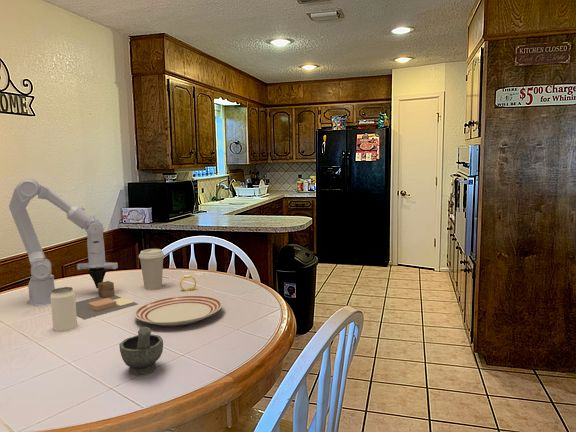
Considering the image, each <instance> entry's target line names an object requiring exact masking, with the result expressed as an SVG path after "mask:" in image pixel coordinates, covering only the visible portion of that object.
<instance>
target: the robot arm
mask: <svg viewBox="0 0 576 432" xmlns="http://www.w3.org/2000/svg"><path fill="white" fill-rule="evenodd" d="M36 196H37V199H39V200H40V199H41V200H46V201H48V202H49V203H51V204H52V205H54V206H56V207H57V208H59V210H61V211H62V212H64V213H65V214H66V218H67V220H69V221H70V222H72V223H73V224H74V225H76V226H77V227H79V228H80V229H82V230H85V232H86V233H87V234H86V235H87V237H86V238H87V240H86V245H87V258H88V262H81V263H78V264H76V269H77V270H89V271H88V272H87V273H88V275H89V276H90V277H91V278H92V281H93V282H94V286H95V289H98V283H101V282H104V278H105V275H106V273H107V271H108V270H109V269H110V270H111V269H112V270H116V269H118V268H119V265H118V262H109V261H106V250H105V241H104V240H105V239H104V232H105V227H104V226H103V224H102V223H101V221H100V220H99V219H97V217H96V216H94V215H93V216H92V215H91V214H90V213H88V212H87V211H85V210H86V209H85V208H84V207H83V206H81V207H80V206H78V205H74V206H72V205H71V204H70V203H69V202H67V201H66V200H65V199H63V198H62V197H61V196H60V195H59V194H57V193H56V192H55V191H53V190H52V189H50V188H49V187H47V186H45V185H44V184H42V183H39V182H38V181H36V180H35V179H33V178H25V179H23V180H21V181H20V182H18V183H17V185H16V186H15V188H14V189H13V193H12V196H11V199H10V201H9V205H8V207H9V211H10V214H11V216H12V218H13V219H12V220H13V221H14V224H15V225H16V228H17V231H18V233H19V236H20V238H21V241H22V244H23V246H24V248H25V251H26V253H27V257H28V260H29V263H30V275H31V277H30V280H29V282H28V285H27V286H28V295H29V296H28V297H29V299H28V300H26V303H28V304H30V305H33V307H42V306H46V305H51V294H52V290H54V289H56V288H55V287H56V286H55V275H54V274H52V262H51V260H49V259H48V258H47V257H46V255H45V253H44V250H43V248H42V246H41V244H40V241H39V239H38V236H37V233H36V231H35V228H34V225H33V223H32V221H31V218H30V217H31V216H30V214H29V213H28V210H27V206H29V203H30V201H31V200H33V199H34V198H35V197H36Z"/></svg>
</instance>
